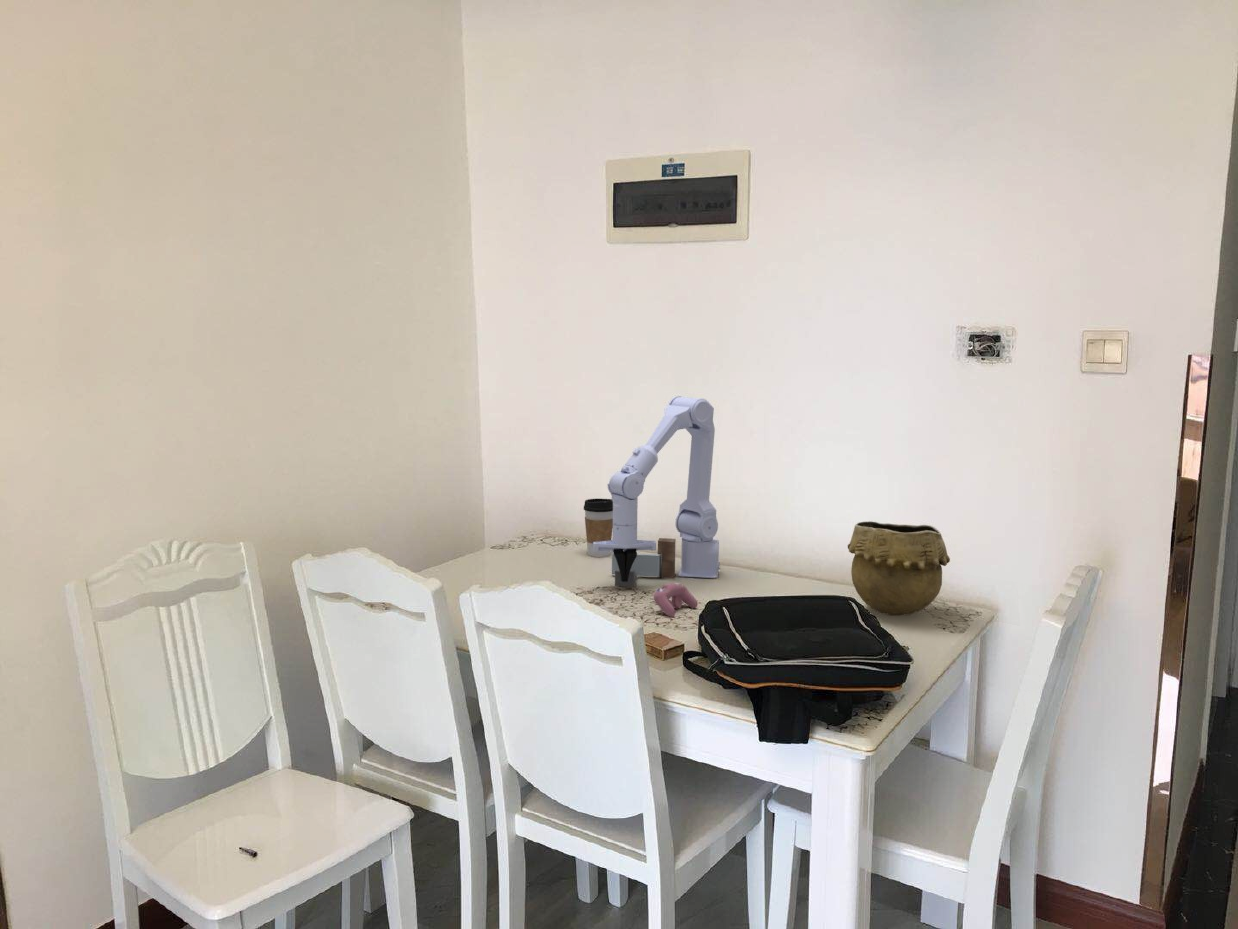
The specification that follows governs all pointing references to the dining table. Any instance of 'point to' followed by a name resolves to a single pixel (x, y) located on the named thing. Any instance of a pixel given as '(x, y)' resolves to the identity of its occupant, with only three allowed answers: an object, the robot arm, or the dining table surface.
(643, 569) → the door leaf
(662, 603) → the video game controller
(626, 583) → the grey stepped block
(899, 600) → the clay pot
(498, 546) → the dining table surface
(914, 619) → the dining table surface
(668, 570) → the door post
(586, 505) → the coffee cup
